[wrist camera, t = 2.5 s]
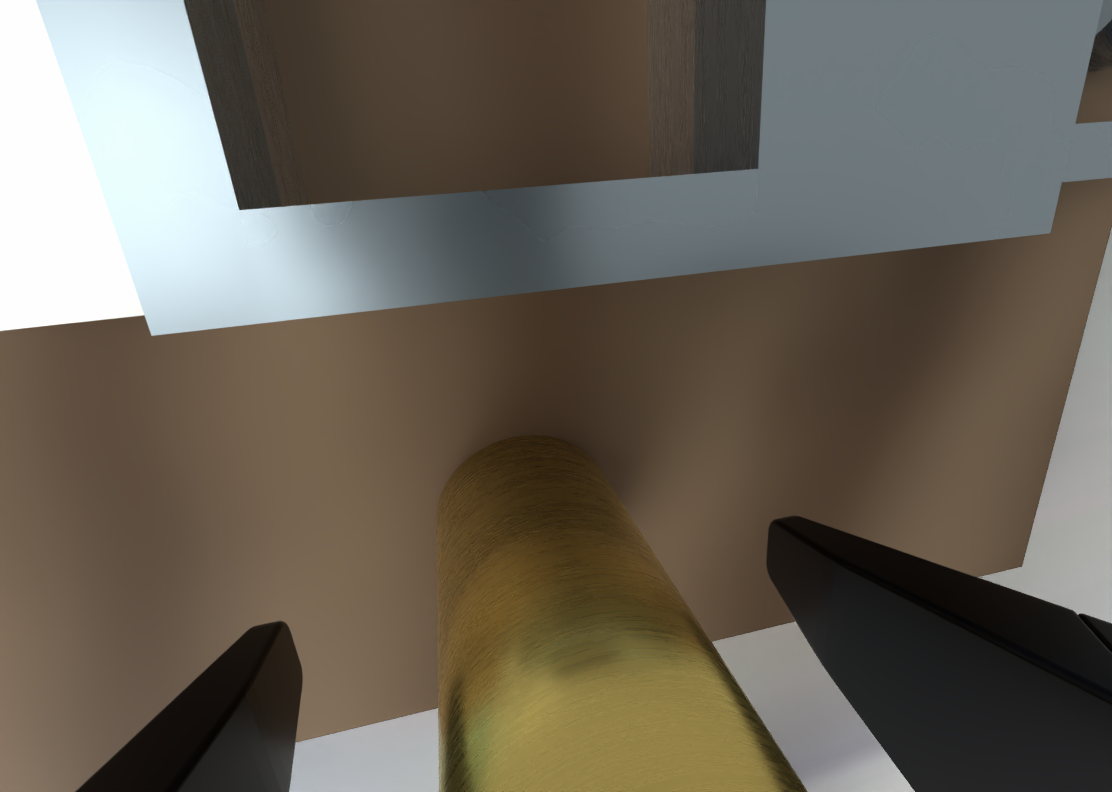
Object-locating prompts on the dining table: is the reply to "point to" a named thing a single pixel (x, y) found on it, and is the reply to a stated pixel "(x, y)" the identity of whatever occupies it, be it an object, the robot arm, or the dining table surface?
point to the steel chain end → (79, 206)
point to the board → (497, 398)
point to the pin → (576, 644)
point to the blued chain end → (607, 206)
